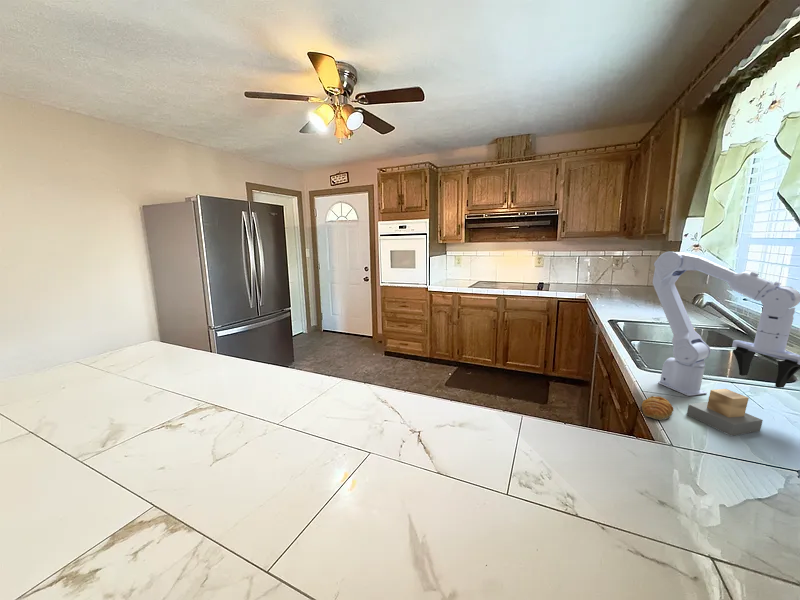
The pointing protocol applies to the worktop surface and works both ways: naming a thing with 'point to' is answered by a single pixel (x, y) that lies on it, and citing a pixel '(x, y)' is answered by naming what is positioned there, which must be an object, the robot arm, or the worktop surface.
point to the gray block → (724, 420)
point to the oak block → (727, 403)
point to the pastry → (657, 408)
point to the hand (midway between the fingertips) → (760, 380)
